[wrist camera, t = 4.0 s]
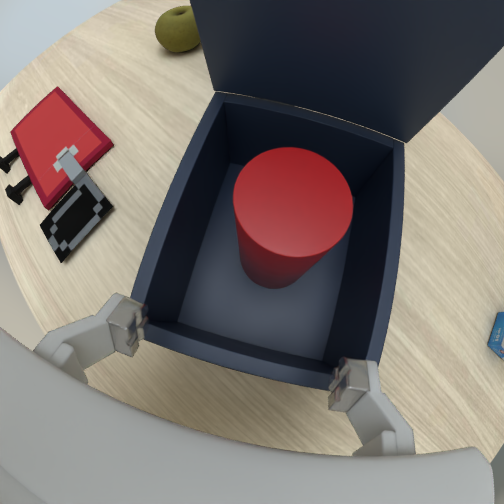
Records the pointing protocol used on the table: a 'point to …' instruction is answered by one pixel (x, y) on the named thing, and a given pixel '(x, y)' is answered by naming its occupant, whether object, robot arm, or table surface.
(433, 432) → the table surface
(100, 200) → the red board with handle
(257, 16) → the lid
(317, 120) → the dark blue open box
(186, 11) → the apple
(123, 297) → the robot arm
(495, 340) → the ink box
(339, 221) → the can
